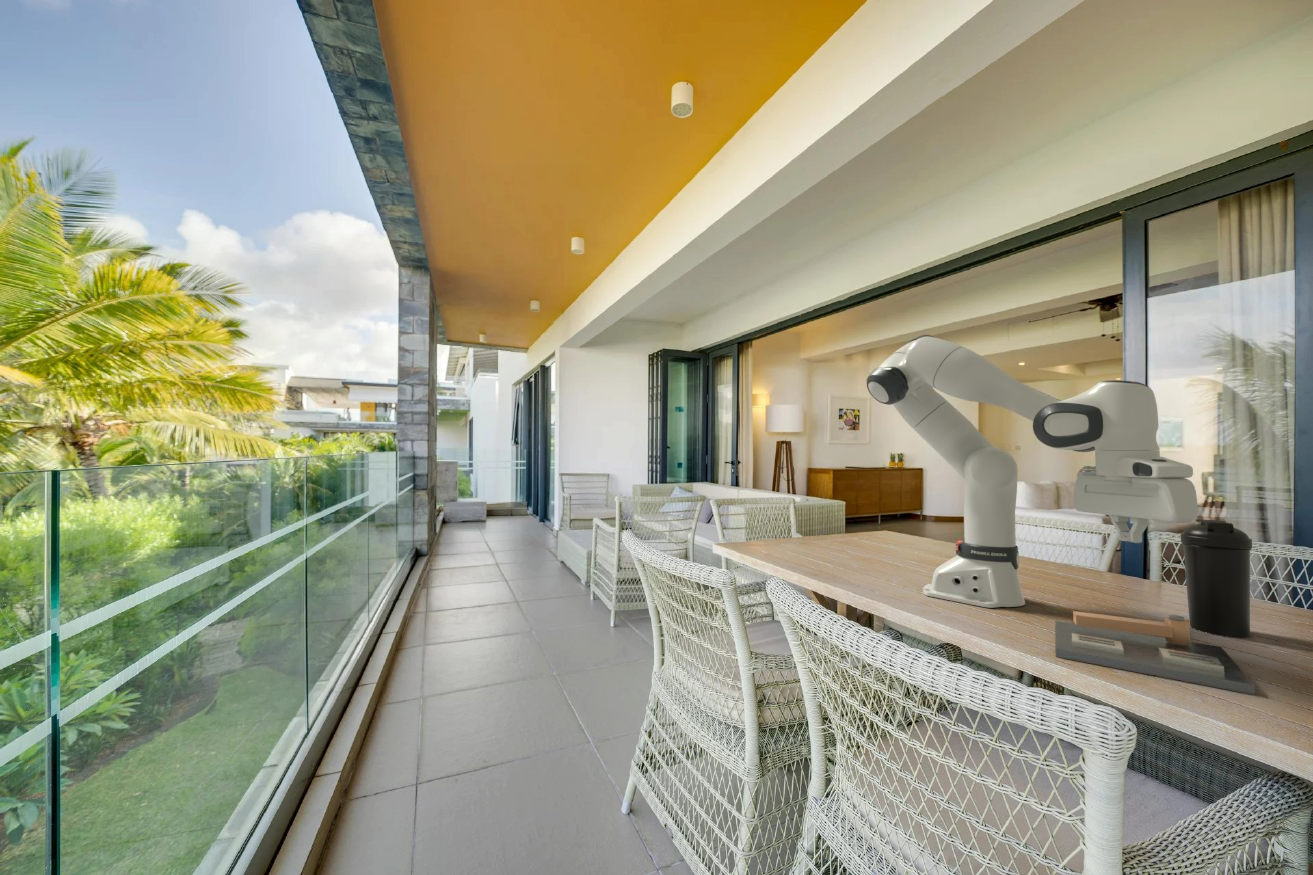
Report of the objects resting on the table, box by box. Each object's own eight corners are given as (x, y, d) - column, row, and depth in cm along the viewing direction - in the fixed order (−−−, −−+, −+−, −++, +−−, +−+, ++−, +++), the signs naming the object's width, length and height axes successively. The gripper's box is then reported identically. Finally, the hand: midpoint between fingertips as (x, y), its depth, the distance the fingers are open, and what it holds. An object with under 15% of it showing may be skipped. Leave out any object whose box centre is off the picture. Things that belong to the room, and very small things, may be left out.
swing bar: (1186, 641, 95) (1185, 615, 95) (1193, 646, 92) (1191, 620, 93) (1073, 626, 104) (1072, 602, 104) (1076, 630, 101) (1075, 606, 101)
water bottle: (1245, 628, 108) (1240, 520, 108) (1265, 643, 99) (1260, 525, 100) (1178, 619, 113) (1173, 516, 114) (1192, 632, 105) (1187, 521, 106)
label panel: (1055, 656, 92) (1055, 642, 92) (1055, 627, 108) (1055, 615, 108) (1254, 694, 78) (1253, 677, 78) (1221, 654, 93) (1220, 640, 93)
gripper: (1063, 465, 104) (1065, 533, 103) (1168, 467, 84) (1171, 551, 83) (1092, 465, 104) (1095, 533, 104) (1204, 467, 84) (1208, 551, 83)
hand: (1130, 541), depth 93 cm, fingers closed
